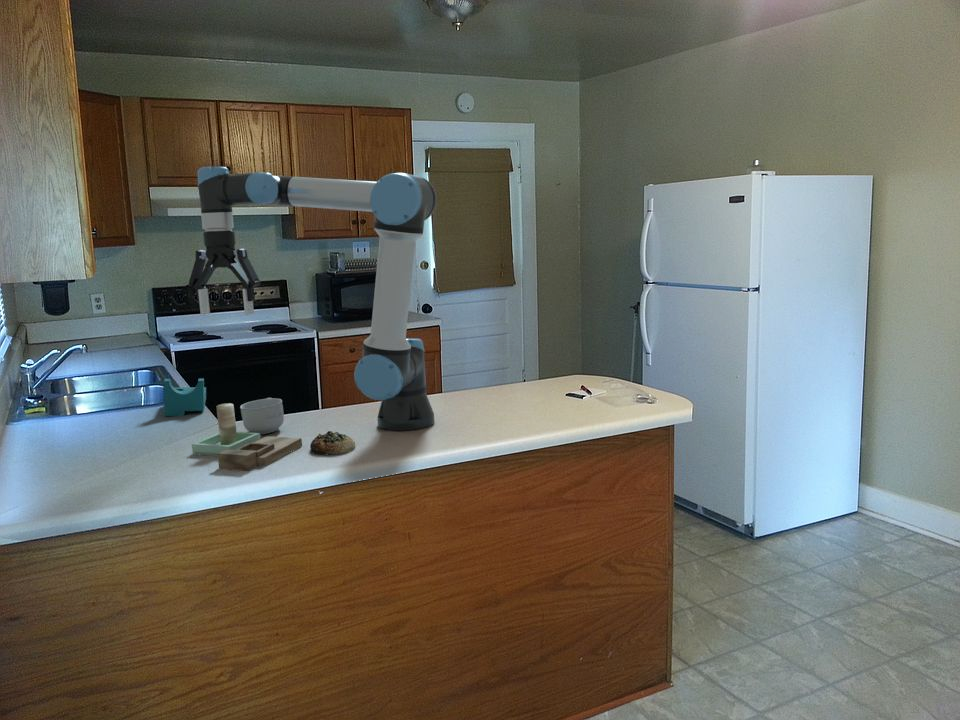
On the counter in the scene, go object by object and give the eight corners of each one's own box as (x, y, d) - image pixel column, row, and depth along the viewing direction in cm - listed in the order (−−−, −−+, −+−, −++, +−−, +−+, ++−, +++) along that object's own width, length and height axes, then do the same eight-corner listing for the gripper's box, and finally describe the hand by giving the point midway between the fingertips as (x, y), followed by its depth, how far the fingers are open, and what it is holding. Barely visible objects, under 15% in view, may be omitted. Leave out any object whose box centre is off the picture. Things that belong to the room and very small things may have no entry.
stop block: (256, 466, 173) (255, 451, 173) (248, 470, 171) (247, 455, 170) (227, 464, 176) (225, 449, 176) (219, 468, 173) (217, 453, 173)
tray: (260, 442, 193) (260, 433, 192) (230, 456, 182) (229, 446, 181) (224, 440, 197) (223, 430, 196) (192, 454, 186) (191, 444, 185)
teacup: (273, 437, 197) (270, 407, 196) (234, 437, 200) (231, 407, 198) (296, 423, 211) (294, 395, 209) (260, 423, 213) (257, 395, 212)
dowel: (241, 442, 191) (236, 403, 189) (230, 447, 188) (226, 408, 186) (227, 441, 193) (223, 403, 191) (217, 446, 189) (212, 407, 187)
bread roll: (300, 450, 185) (301, 429, 184) (338, 445, 193) (339, 425, 192) (328, 460, 177) (329, 439, 177) (365, 454, 185) (367, 434, 185)
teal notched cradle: (203, 415, 228) (203, 380, 226) (164, 416, 225) (163, 381, 223) (206, 402, 245) (205, 370, 243) (169, 403, 242) (169, 370, 240)
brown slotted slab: (302, 448, 189) (301, 433, 188) (265, 468, 174) (263, 452, 173) (267, 446, 192) (265, 431, 191) (227, 465, 177) (226, 450, 176)
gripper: (269, 228, 192) (277, 312, 196) (188, 231, 201) (197, 312, 204) (251, 228, 185) (259, 316, 189) (168, 232, 194) (177, 316, 197)
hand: (227, 314), depth 197 cm, fingers open, 13 cm apart
